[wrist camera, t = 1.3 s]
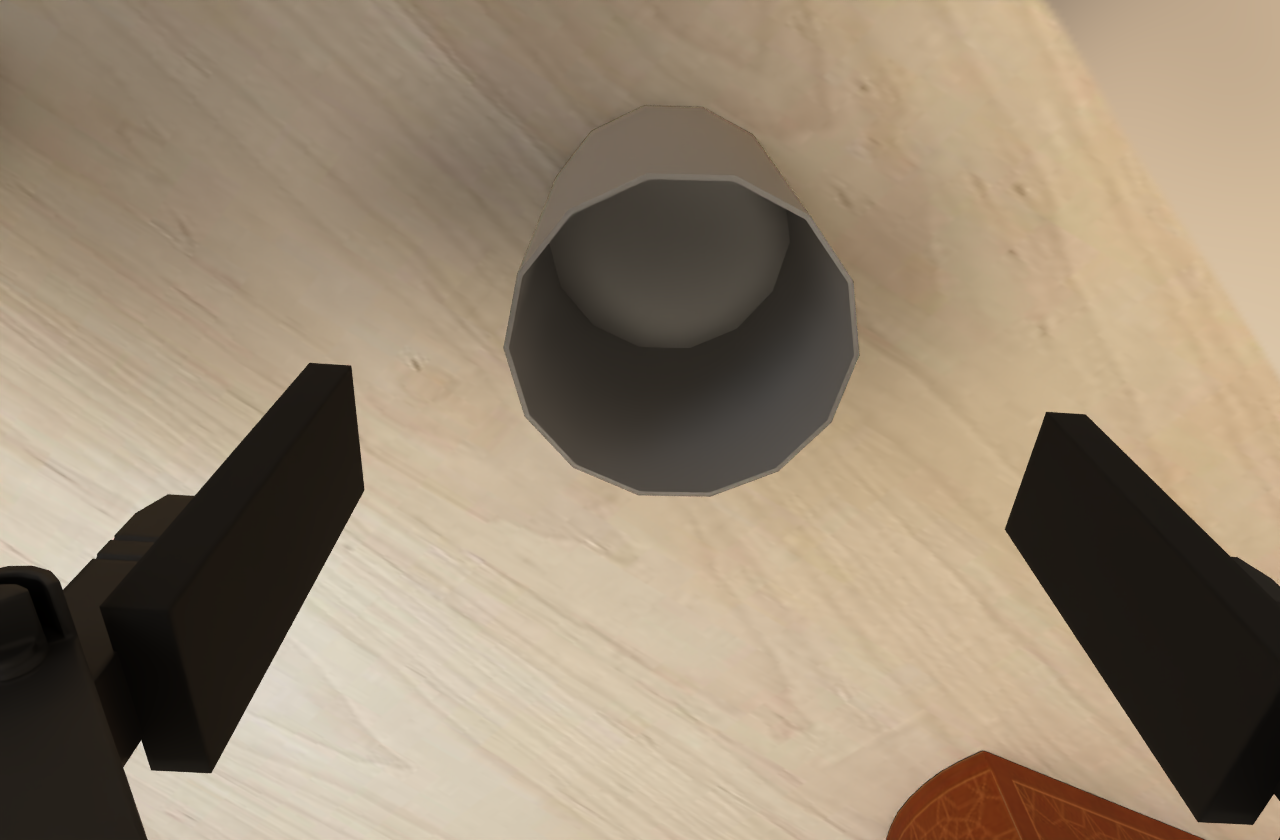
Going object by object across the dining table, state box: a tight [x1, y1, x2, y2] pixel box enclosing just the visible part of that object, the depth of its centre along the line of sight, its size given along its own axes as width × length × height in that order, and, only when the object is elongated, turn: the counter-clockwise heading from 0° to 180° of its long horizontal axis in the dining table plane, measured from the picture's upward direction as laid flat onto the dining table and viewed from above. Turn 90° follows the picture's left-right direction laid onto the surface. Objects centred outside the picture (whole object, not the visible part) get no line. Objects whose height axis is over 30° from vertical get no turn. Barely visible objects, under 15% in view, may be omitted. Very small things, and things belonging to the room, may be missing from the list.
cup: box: [504, 106, 859, 497], centre depth 24 cm, size 8×8×10 cm
